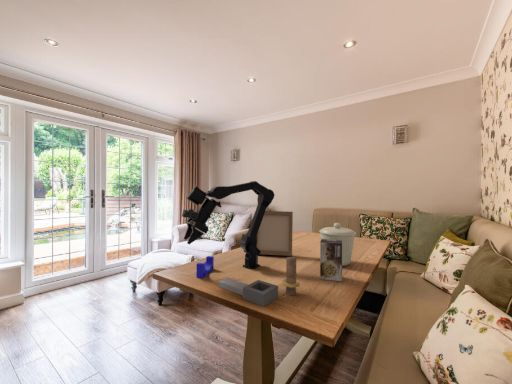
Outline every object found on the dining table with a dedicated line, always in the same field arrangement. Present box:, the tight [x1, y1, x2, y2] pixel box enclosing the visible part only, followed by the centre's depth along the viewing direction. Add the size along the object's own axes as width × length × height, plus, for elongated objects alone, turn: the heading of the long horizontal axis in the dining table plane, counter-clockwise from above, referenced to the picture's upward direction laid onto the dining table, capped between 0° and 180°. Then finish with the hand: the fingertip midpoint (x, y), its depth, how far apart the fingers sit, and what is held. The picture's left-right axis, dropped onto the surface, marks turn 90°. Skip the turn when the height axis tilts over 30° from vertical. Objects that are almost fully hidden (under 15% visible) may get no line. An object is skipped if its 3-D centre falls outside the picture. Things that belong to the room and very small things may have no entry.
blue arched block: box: [195, 255, 215, 279], centre depth 109 cm, size 12×4×6 cm, turn 168°
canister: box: [318, 222, 357, 267], centre depth 125 cm, size 18×18×21 cm
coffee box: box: [319, 238, 343, 282], centre depth 104 cm, size 9×6×16 cm
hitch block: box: [218, 277, 279, 307], centre depth 89 cm, size 9×23×4 cm, turn 53°
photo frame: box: [256, 210, 294, 257], centre depth 143 cm, size 15×22×25 cm
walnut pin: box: [281, 256, 301, 296], centre depth 89 cm, size 6×6×13 cm
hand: (186, 241), depth 105 cm, fingers open, 9 cm apart
